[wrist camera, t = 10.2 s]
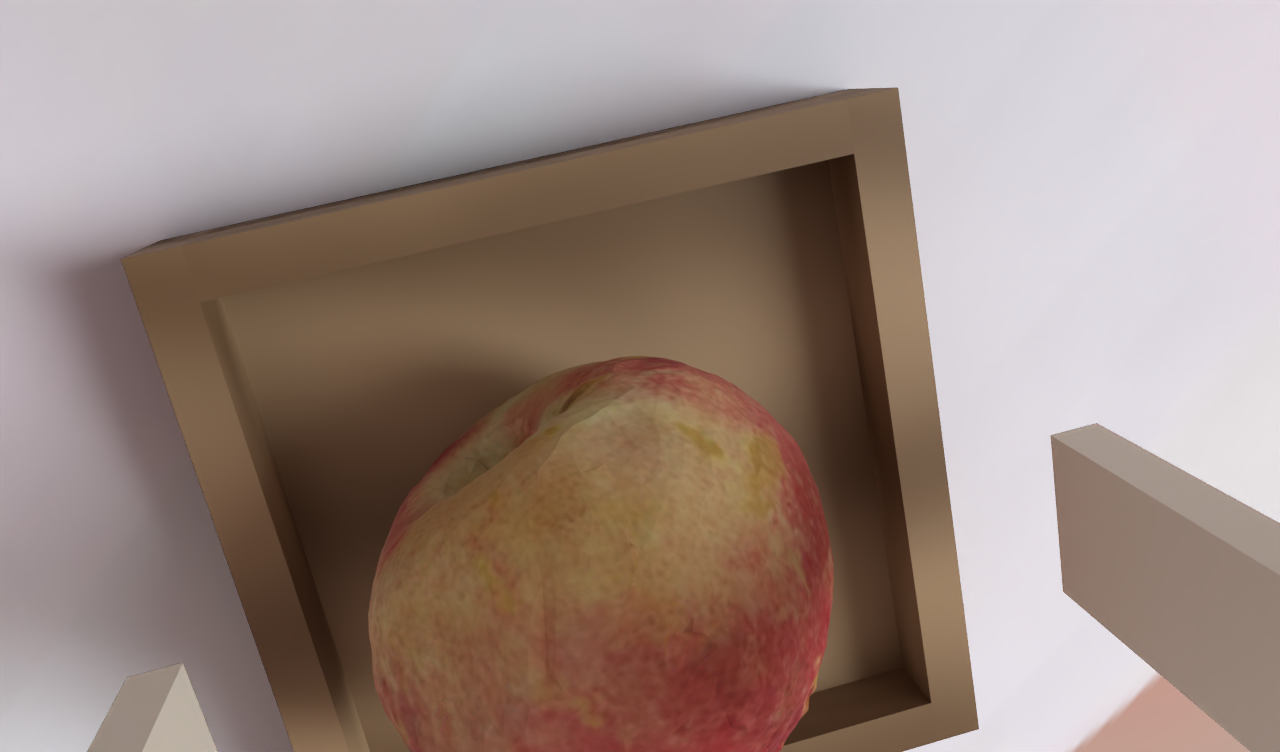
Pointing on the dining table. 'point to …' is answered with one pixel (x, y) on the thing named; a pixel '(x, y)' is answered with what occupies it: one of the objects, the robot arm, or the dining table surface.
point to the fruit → (607, 573)
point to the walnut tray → (560, 339)
